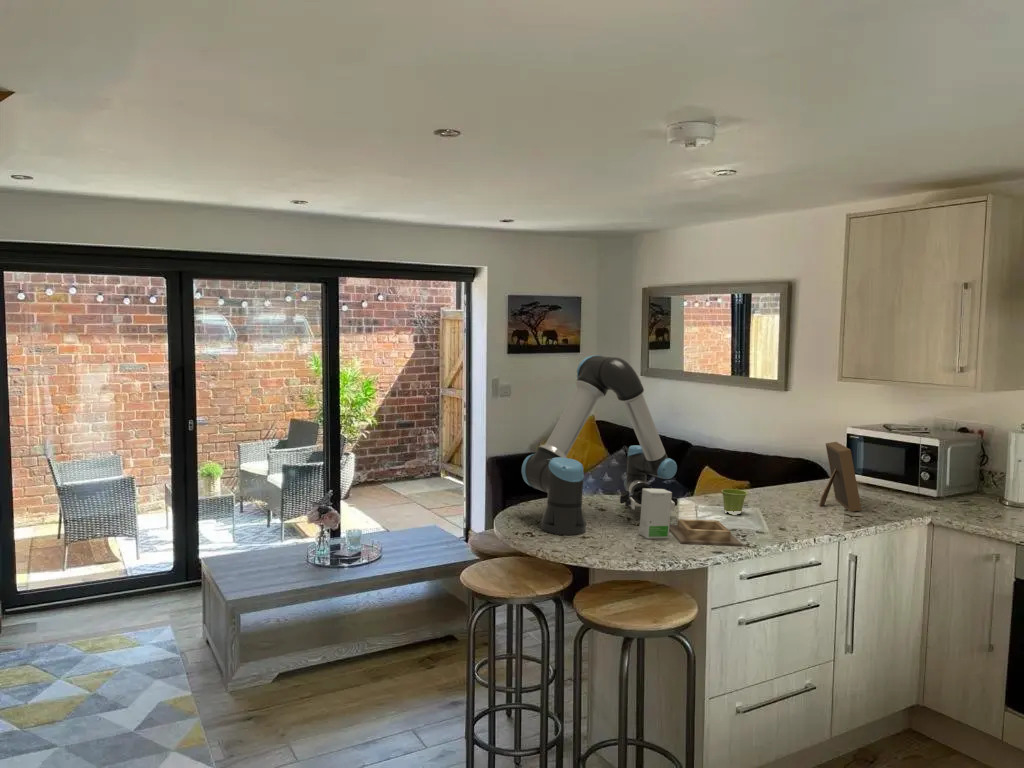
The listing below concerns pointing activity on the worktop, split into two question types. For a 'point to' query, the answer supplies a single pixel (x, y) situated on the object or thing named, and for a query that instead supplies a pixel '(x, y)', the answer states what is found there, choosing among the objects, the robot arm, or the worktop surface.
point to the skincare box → (655, 513)
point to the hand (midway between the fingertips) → (653, 506)
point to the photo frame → (842, 477)
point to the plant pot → (733, 499)
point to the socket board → (703, 533)
